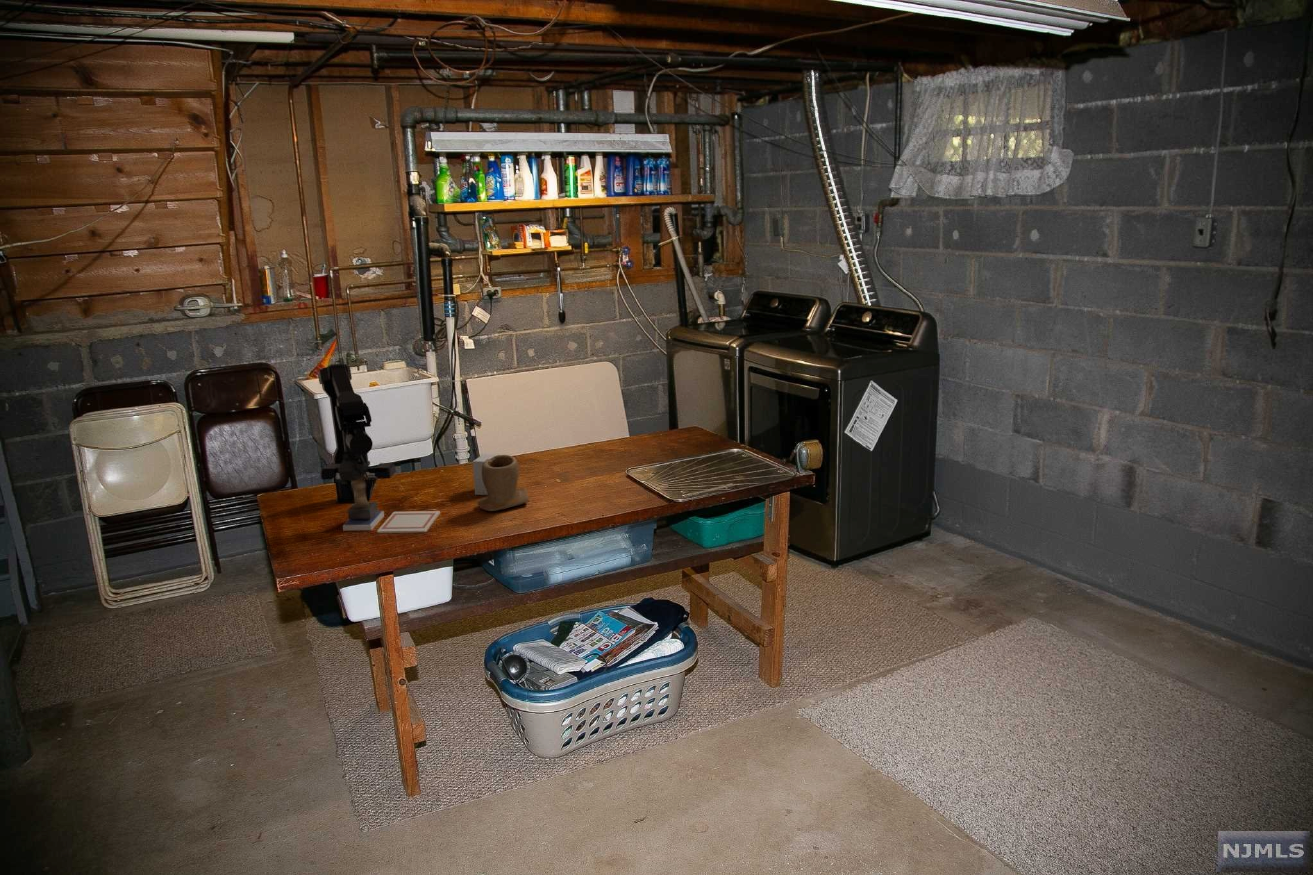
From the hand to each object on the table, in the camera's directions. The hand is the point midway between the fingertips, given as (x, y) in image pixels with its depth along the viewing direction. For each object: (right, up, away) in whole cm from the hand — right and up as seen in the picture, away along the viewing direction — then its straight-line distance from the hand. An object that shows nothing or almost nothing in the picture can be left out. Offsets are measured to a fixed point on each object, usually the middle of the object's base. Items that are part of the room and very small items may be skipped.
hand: (361, 501), depth 247 cm
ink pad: (0, -6, +2) cm, 6 cm away
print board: (+13, -6, +1) cm, 14 cm away
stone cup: (+37, -3, +12) cm, 39 cm away
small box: (+30, +1, +26) cm, 40 cm away
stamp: (0, -4, +1) cm, 4 cm away
